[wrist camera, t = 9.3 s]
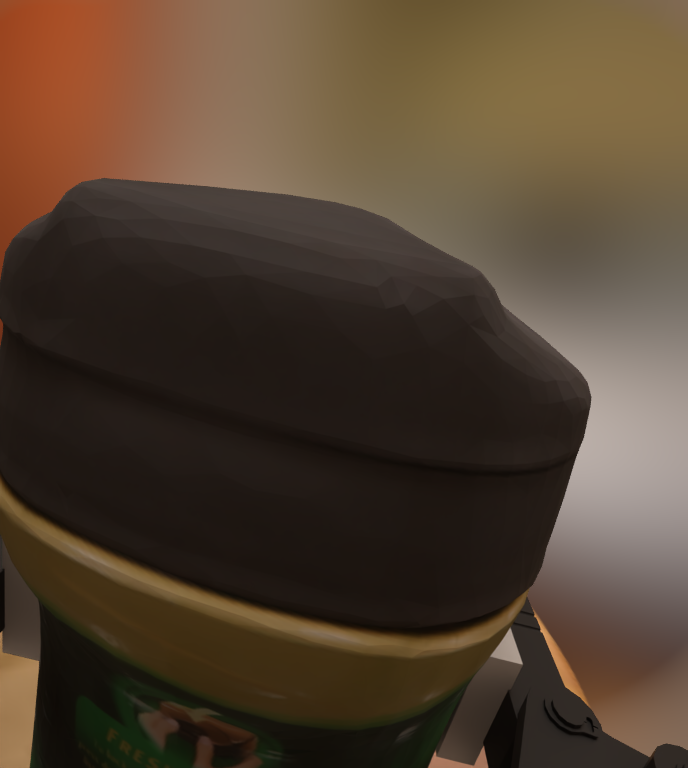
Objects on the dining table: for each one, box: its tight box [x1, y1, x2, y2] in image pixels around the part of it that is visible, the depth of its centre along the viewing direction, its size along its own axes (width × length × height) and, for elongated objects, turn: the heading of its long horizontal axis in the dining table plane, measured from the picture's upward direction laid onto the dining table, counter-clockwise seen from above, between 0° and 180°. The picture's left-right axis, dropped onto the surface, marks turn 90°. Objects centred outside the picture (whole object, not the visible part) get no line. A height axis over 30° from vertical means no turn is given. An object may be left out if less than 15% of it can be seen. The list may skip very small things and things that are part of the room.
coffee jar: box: [0, 178, 591, 768], centre depth 10 cm, size 10×8×19 cm
